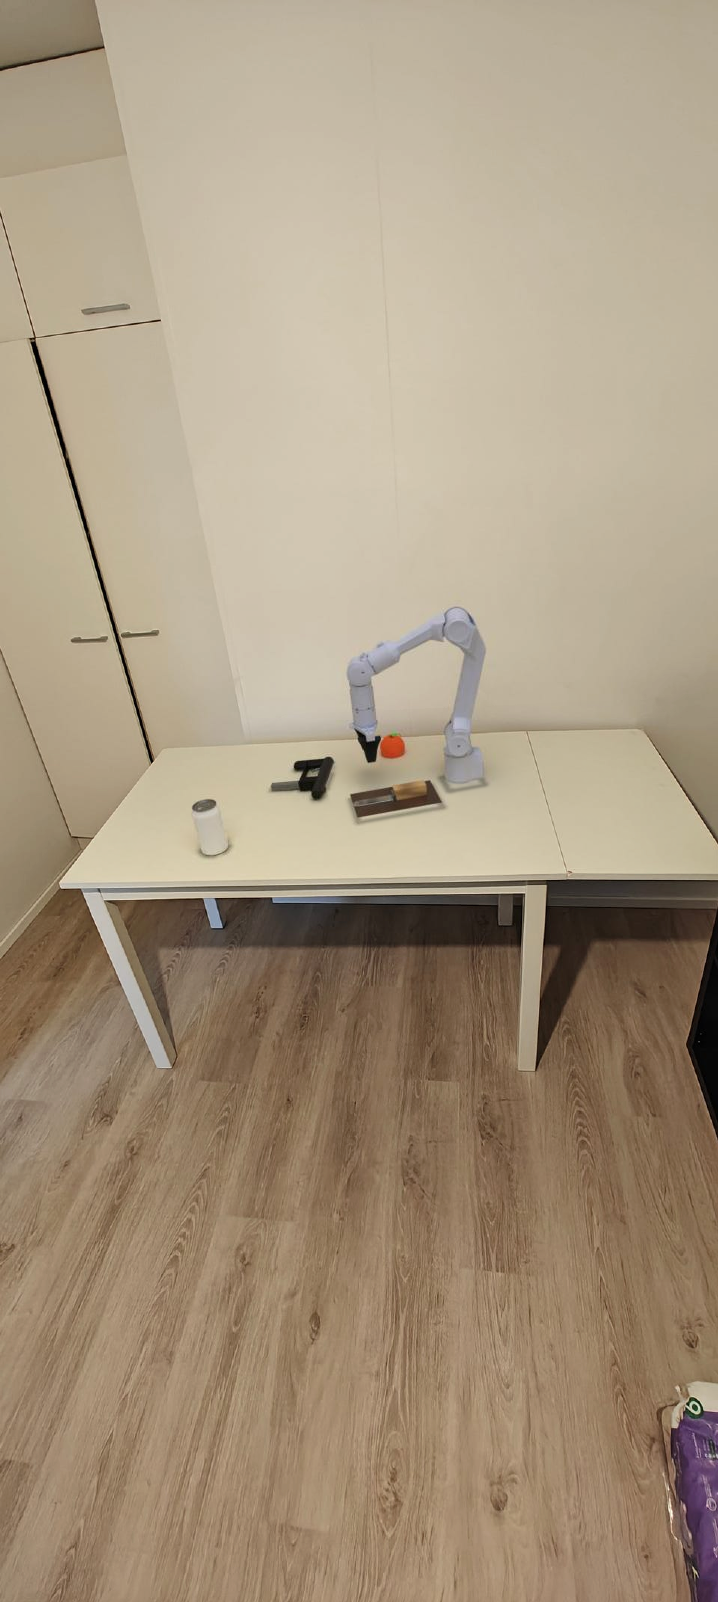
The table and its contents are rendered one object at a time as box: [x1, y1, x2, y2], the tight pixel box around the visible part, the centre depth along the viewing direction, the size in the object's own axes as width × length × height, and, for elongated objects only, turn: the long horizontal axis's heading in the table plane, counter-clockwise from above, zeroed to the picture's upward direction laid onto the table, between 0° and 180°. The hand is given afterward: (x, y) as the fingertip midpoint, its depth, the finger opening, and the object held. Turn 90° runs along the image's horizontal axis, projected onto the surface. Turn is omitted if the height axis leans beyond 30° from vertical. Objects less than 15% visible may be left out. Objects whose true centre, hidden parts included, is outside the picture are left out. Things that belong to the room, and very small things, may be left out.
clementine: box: [379, 732, 406, 759], centre depth 197 cm, size 8×7×7 cm
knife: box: [353, 779, 427, 807], centre depth 176 cm, size 18×3×3 cm, turn 99°
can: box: [191, 798, 229, 857], centre depth 165 cm, size 6×6×12 cm
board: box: [349, 779, 443, 819], centre depth 177 cm, size 21×12×2 cm, turn 99°
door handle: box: [270, 756, 335, 800], centre depth 191 cm, size 3×20×16 cm
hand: (368, 755), depth 181 cm, fingers open, 7 cm apart
